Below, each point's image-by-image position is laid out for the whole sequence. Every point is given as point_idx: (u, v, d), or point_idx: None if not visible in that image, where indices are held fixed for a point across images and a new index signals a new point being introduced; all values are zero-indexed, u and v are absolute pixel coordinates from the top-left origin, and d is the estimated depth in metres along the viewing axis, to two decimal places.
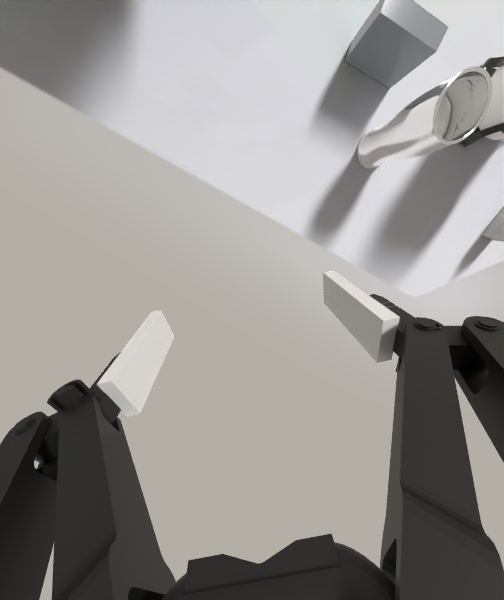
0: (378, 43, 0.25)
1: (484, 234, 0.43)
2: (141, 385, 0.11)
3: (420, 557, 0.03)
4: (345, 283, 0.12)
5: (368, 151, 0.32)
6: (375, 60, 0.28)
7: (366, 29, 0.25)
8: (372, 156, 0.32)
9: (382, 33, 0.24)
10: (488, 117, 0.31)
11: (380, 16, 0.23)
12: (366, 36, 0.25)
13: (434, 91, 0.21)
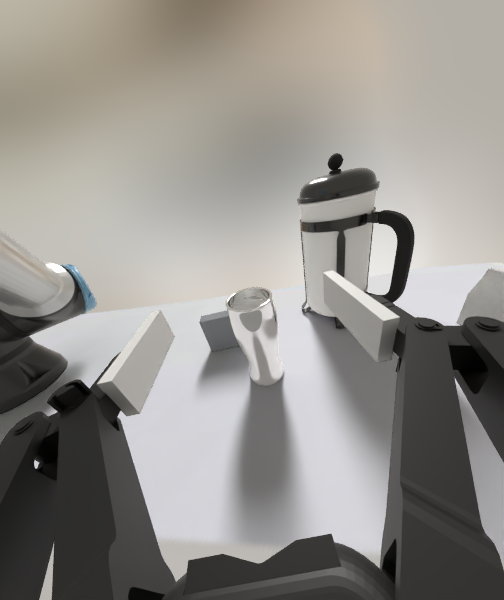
0: (215, 331, 0.38)
1: None
2: (141, 385, 0.11)
3: (420, 557, 0.03)
4: (345, 283, 0.12)
5: (253, 371, 0.30)
6: (225, 338, 0.39)
7: None
8: (258, 370, 0.29)
9: (211, 327, 0.37)
10: (328, 309, 0.38)
11: (201, 323, 0.37)
12: (206, 334, 0.38)
13: None
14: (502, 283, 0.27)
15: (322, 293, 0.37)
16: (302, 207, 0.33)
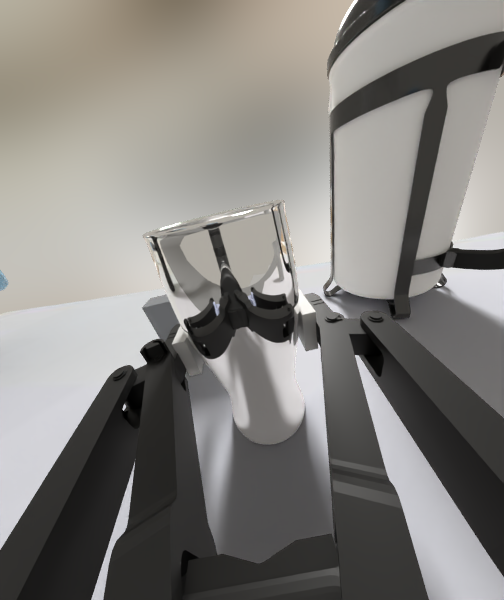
0: None
1: None
2: None
3: (350, 531, 0.03)
4: None
5: (238, 411, 0.13)
6: None
7: None
8: (248, 413, 0.12)
9: (166, 317, 0.20)
10: (378, 286, 0.21)
11: (146, 309, 0.20)
12: (159, 330, 0.21)
13: None
14: None
15: (370, 254, 0.20)
16: (341, 65, 0.16)
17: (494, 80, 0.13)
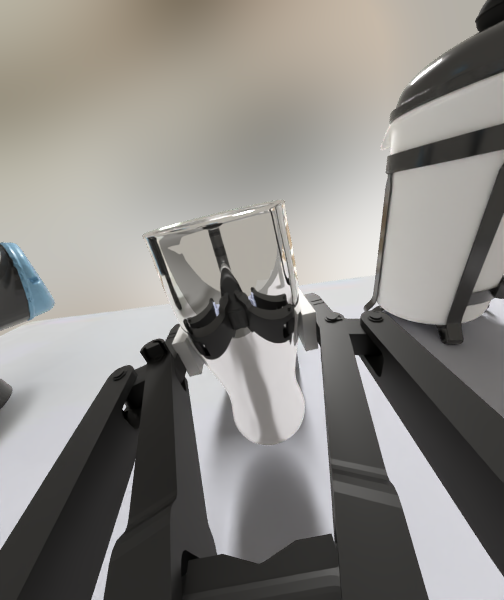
0: None
1: None
2: None
3: (350, 530, 0.03)
4: None
5: (238, 411, 0.13)
6: None
7: None
8: (248, 413, 0.12)
9: None
10: (430, 313, 0.22)
11: None
12: None
13: None
14: None
15: (426, 284, 0.21)
16: (413, 117, 0.17)
17: None
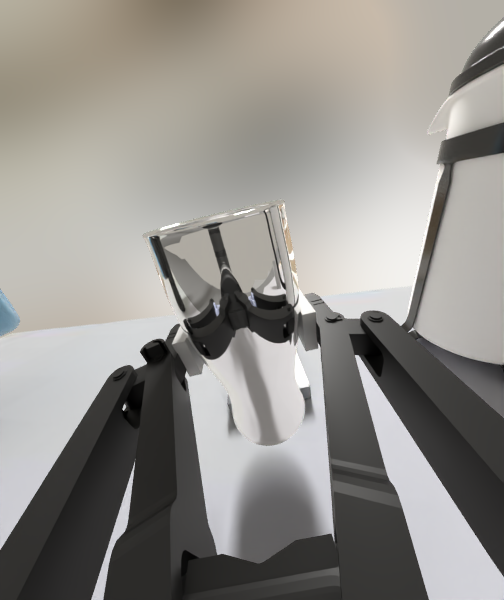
0: None
1: None
2: None
3: (350, 531, 0.03)
4: None
5: (238, 412, 0.13)
6: None
7: None
8: (248, 413, 0.12)
9: None
10: (497, 351, 0.17)
11: None
12: None
13: None
14: None
15: (496, 315, 0.16)
16: (503, 76, 0.11)
17: None
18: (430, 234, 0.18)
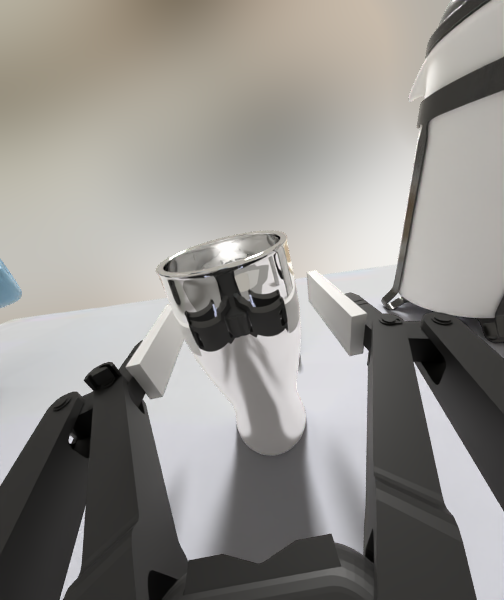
0: None
1: None
2: (163, 371, 0.11)
3: (393, 543, 0.03)
4: (324, 282, 0.13)
5: (242, 423, 0.14)
6: None
7: None
8: (252, 426, 0.13)
9: None
10: (473, 303, 0.18)
11: None
12: None
13: None
14: None
15: (471, 266, 0.17)
16: (468, 29, 0.12)
17: None
18: (411, 195, 0.19)
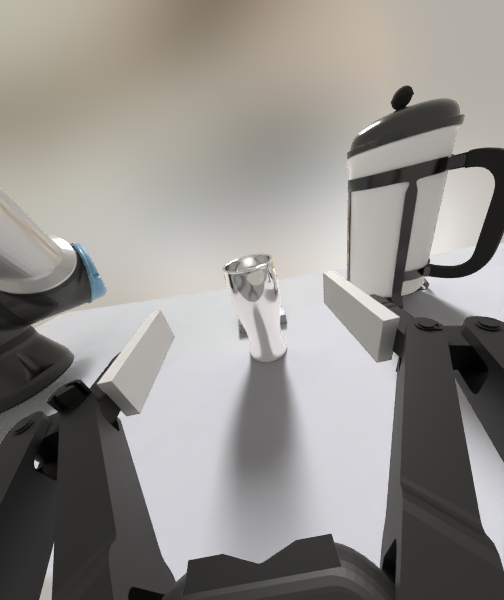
0: None
1: None
2: (141, 385, 0.11)
3: (420, 557, 0.03)
4: (345, 283, 0.12)
5: (254, 346, 0.28)
6: None
7: None
8: (258, 344, 0.27)
9: None
10: (381, 288, 0.32)
11: None
12: None
13: None
14: None
15: (375, 267, 0.31)
16: (357, 159, 0.27)
17: (443, 175, 0.24)
18: (348, 228, 0.33)
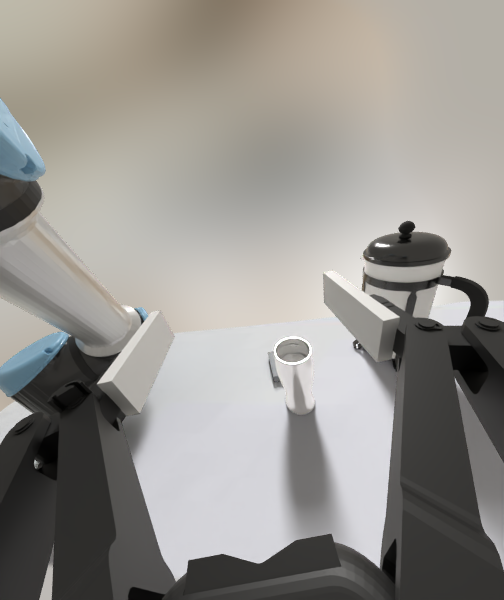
0: None
1: None
2: (141, 385, 0.11)
3: (419, 557, 0.03)
4: (345, 283, 0.12)
5: (291, 402, 0.37)
6: None
7: None
8: (296, 403, 0.36)
9: None
10: None
11: (269, 353, 0.51)
12: (271, 360, 0.48)
13: None
14: None
15: None
16: (372, 265, 0.36)
17: (435, 286, 0.33)
18: None
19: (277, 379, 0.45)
